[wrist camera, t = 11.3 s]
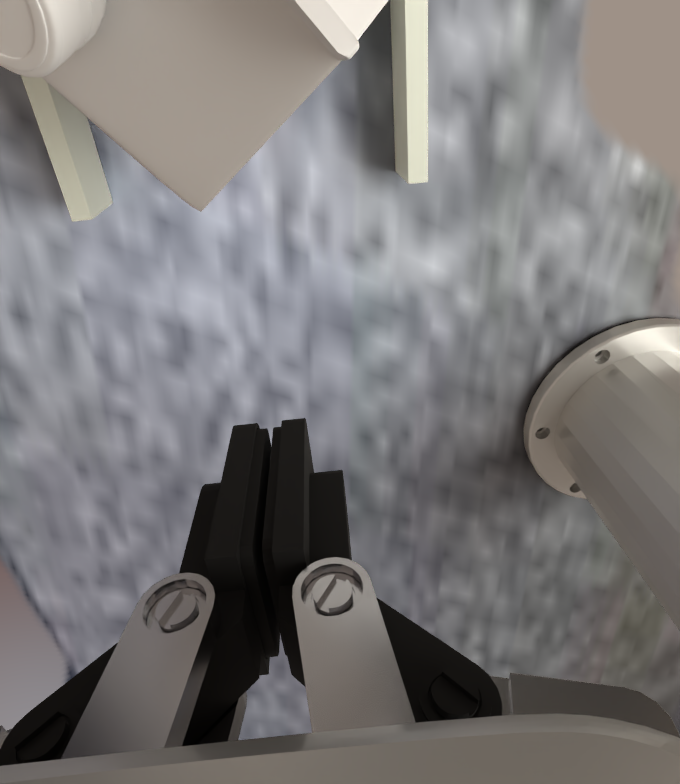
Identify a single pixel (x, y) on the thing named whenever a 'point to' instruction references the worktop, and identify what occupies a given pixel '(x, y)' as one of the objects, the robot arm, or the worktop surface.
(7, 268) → the worktop surface
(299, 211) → the worktop surface
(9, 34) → the milk carton
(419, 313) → the worktop surface
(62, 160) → the bay
